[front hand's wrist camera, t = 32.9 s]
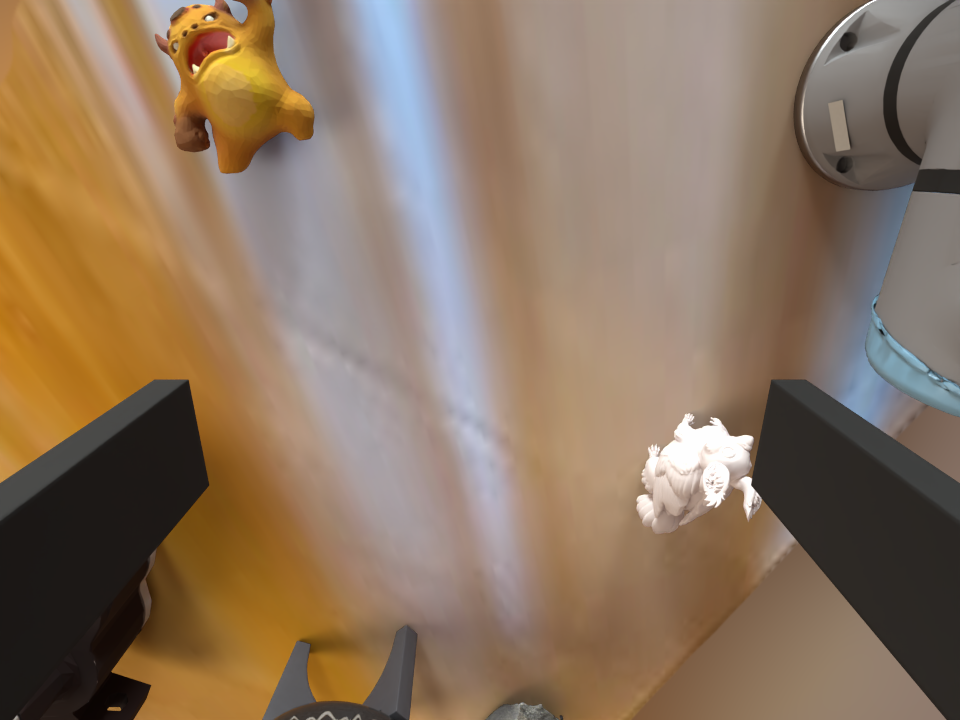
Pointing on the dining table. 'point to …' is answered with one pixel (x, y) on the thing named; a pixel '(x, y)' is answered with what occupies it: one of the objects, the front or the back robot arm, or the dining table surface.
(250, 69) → the toy
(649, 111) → the dining table surface
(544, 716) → the rock
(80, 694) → the mechanical component
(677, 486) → the figurine
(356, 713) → the planter
